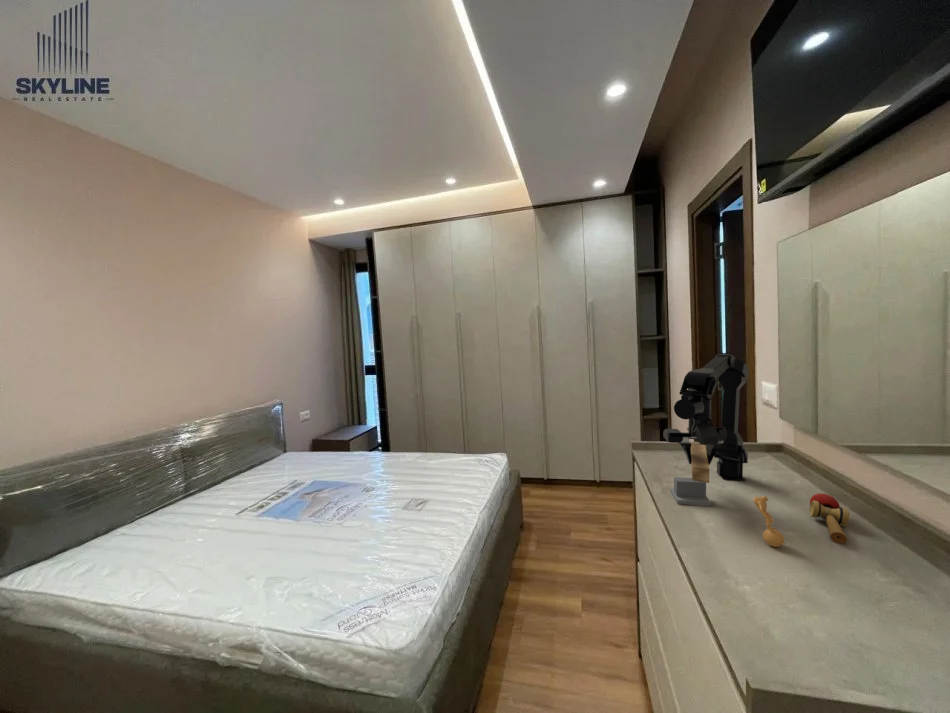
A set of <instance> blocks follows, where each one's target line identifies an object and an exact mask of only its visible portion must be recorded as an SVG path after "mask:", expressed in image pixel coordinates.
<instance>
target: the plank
mask: <svg viewBox="0 0 950 713" xmlns="http://www.w3.org/2000/svg"><path fill="white" fill-rule="evenodd" d="M691 444H692V445H691V459H692V460H691V464H690V466H691V467H690V468H691V478H692V481H698V482H705V483H706V484H710V465H709V464H708V459H707V454H706V452H707V447H706V445H701V444H700V443H699V444H697V443H691Z"/></svg>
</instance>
